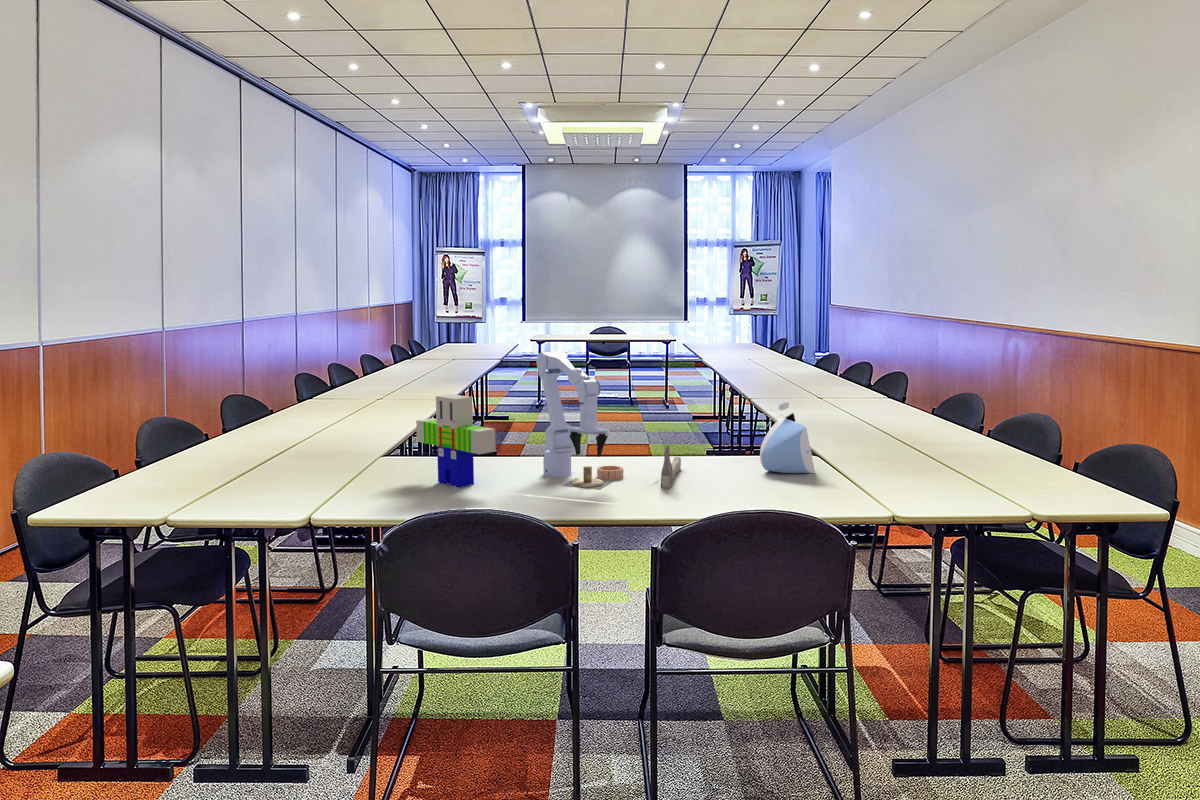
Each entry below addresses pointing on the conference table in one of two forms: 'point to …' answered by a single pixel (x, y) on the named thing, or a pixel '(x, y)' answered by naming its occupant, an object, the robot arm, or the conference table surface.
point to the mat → (588, 487)
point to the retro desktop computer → (786, 446)
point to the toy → (455, 439)
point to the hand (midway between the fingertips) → (588, 455)
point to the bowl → (610, 472)
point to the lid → (587, 479)
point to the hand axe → (669, 469)
